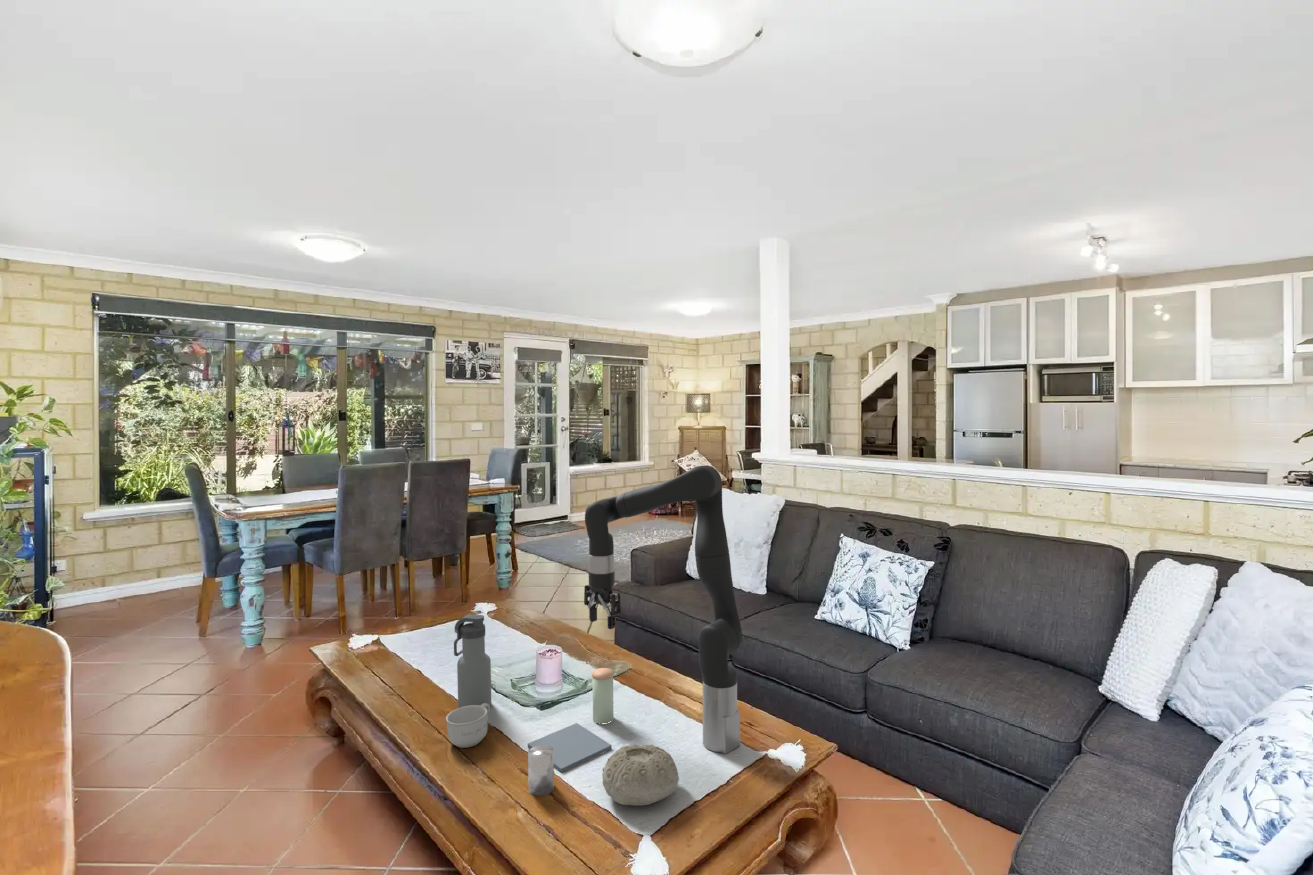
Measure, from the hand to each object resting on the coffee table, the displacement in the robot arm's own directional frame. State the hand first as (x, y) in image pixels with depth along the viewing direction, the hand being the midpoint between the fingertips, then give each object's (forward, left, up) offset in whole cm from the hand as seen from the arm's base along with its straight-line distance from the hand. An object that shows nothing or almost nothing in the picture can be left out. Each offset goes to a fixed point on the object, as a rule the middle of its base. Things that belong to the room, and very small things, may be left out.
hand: (602, 624), depth 182 cm
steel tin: (-16, +31, -28) cm, 45 cm away
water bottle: (+33, +24, -28) cm, 50 cm away
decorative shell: (-34, +15, -28) cm, 47 cm away
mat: (-6, +16, -28) cm, 33 cm away
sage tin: (0, 0, -28) cm, 28 cm away
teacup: (+16, +33, -28) cm, 46 cm away
